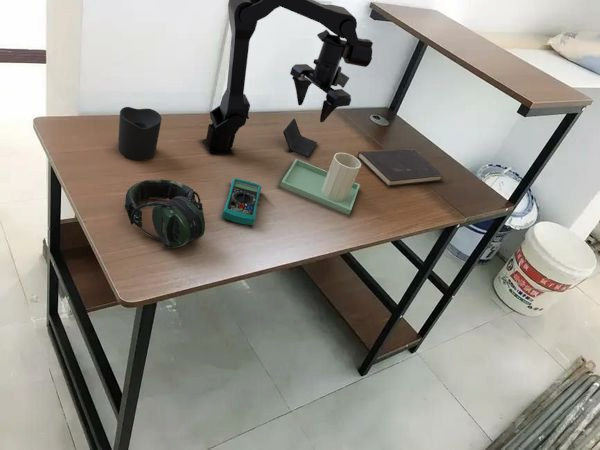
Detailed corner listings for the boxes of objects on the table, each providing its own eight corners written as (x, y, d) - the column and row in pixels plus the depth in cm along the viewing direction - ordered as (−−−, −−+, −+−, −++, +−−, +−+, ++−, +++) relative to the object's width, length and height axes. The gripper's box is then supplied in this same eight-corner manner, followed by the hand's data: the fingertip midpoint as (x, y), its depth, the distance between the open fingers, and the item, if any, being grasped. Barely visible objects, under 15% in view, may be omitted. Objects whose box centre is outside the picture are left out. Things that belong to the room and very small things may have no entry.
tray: (279, 188, 133) (281, 181, 132) (293, 164, 145) (296, 158, 143) (348, 216, 132) (351, 210, 131) (357, 190, 144) (360, 184, 142)
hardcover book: (440, 181, 163) (443, 175, 162) (387, 187, 150) (390, 180, 149) (408, 153, 173) (411, 147, 171) (356, 156, 160) (359, 150, 158)
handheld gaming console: (316, 156, 148) (304, 124, 144) (292, 164, 150) (280, 132, 146) (318, 143, 159) (307, 113, 155) (296, 151, 160) (284, 121, 156)
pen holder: (142, 166, 123) (147, 130, 117) (108, 151, 124) (111, 114, 118) (163, 151, 131) (168, 116, 125) (130, 137, 131) (134, 101, 126)
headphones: (234, 214, 109) (171, 177, 118) (203, 187, 97) (137, 148, 106) (197, 267, 107) (136, 225, 116) (162, 246, 95) (97, 201, 104)
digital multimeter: (220, 220, 116) (223, 210, 114) (231, 185, 128) (233, 175, 126) (252, 228, 117) (255, 218, 115) (259, 193, 129) (262, 183, 127)
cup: (335, 204, 134) (349, 170, 128) (316, 188, 137) (328, 155, 131) (352, 197, 139) (366, 165, 133) (333, 183, 142) (346, 150, 136)
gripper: (374, 75, 134) (352, 128, 143) (326, 44, 143) (309, 95, 152) (346, 76, 126) (325, 132, 135) (297, 43, 135) (281, 97, 144)
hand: (310, 113), depth 142 cm, fingers open, 9 cm apart
